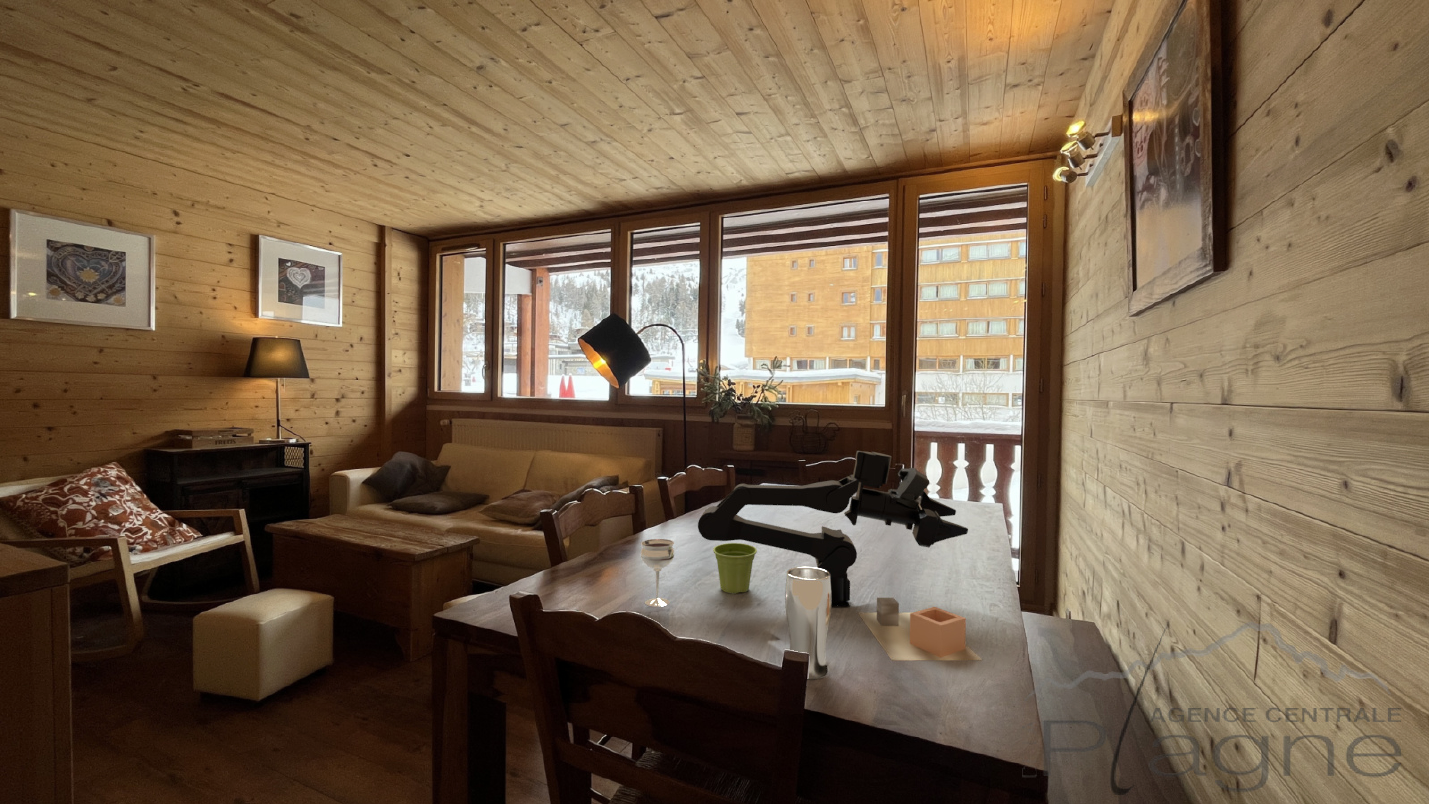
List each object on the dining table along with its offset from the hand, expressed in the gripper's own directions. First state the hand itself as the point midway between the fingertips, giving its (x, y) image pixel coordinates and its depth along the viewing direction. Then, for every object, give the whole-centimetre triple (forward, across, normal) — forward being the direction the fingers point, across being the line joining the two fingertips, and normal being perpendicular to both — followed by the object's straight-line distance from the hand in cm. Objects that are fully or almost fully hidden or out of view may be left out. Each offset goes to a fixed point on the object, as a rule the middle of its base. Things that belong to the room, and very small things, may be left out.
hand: (961, 521), depth 120 cm
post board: (-10, -22, +15) cm, 28 cm away
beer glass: (-28, -35, +16) cm, 47 cm away
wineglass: (-56, -10, +26) cm, 63 cm away
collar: (-8, -26, +12) cm, 30 cm away
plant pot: (-42, 0, +25) cm, 49 cm away
